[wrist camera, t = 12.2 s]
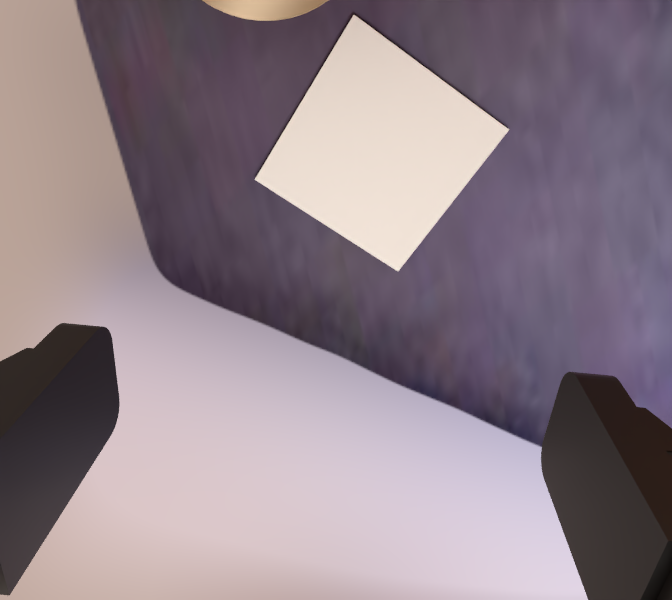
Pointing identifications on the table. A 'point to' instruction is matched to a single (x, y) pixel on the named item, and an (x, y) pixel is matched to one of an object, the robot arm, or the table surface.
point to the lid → (265, 8)
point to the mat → (379, 146)
